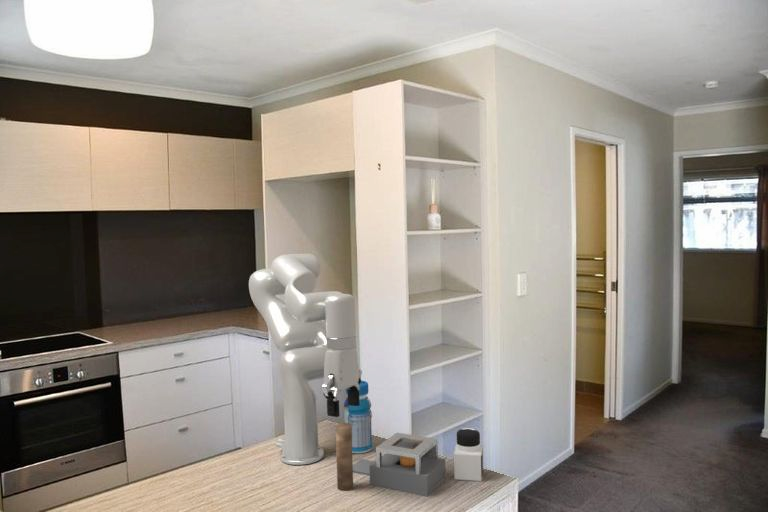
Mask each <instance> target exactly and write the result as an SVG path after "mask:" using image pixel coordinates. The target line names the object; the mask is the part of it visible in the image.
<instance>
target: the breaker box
mask: <svg viewBox="0 0 768 512" xmlns="http://www.w3.org/2000/svg"><path fill="white" fill-rule="evenodd" d="M374 461H375V462H374V463H372V464H371V465H370V475H369V485H370V486H375V487H379V488H385V489H390V490H394V491H398V492H399V491H400V492H404V493H407V494H413V495H417V496H422V497H423V496H424V497H429V495H431V494H432V493H433V492H434V490H436V488H437V487H438V486H439V485H441V484H442V482H443V481H444V480H445V479H446V477H447V476H446V473H447V472H446V458H443V457H438V458H437V459H434V458H428V457H421V474H420V475H417V474H416V466H414V467H413V468H411V467H406V466H401V465H400V456H399V455H394V454H388V453H383V455H382V466H381V467H376V460H374Z"/></svg>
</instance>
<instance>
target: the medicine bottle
mask: <svg viewBox="0 0 768 512" xmlns="http://www.w3.org/2000/svg"><path fill="white" fill-rule="evenodd" d="M480 440H481V434H480V432H479V431H478V430H476V429H475V428H470V427H468V428H467V427H465V428H460V429H458V430H457V432H456V444H455V448H454V452H453V474H454V480H456V481H458V480H459V481H471V482H473V481H474V482H482V481H483V475H484V474H483V473H484V458H483V457H484V453H483V452H484V449H483V448H484V447H483V445H482V444H481V441H480Z"/></svg>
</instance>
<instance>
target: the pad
mask: <svg viewBox="0 0 768 512" xmlns="http://www.w3.org/2000/svg"><path fill="white" fill-rule="evenodd" d="M375 461H376V460H369V459H364V458H361V459H359V460H357V462H355V463H353V473H357V474H361V475H366V476H370V465H371V464H372V463H374V462H375Z"/></svg>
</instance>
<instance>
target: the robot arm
mask: <svg viewBox="0 0 768 512" xmlns="http://www.w3.org/2000/svg"><path fill="white" fill-rule="evenodd" d="M321 270H322V269H321V261H320V260H319V259H318V257H317V256H316V255H314V254H312V253H287V254H286V253H285V254H282V255H279V256H277V257H275V259H273V261H272V262H271V265H270V268H269V267H268V268H261V269H258V270H256V271H253V273H251V275H250V276H249V280H248V290H249V295H250V298H251V301H252V302H253V305H254V306H255V309H257V311H258V312H259V313H260V315H261V316H262V318H263V319H264V321H265V324H266V327H267V329H268V331H269V334H270V336H271V339H272V342H273V343H274V346H275V347H276V349H277V350H279V352H282V355H281V356H280V358H279V361H278V367H279V368H278V369H279V373H280V378H281V383H282V393H283V396H282V397H283V416H284V421H283V423H284V438H283V437H278V438H277V440H276V442H275V447H276V448H281V449H282V451H281V452H280V454H279V460H280V461H281V462H283V463H284V464H287V465H292V466H293V465H294V466H298V465H299V466H300V465H301V466H303V465H309V464H314V463H316V462H318V461H320V460H322V459H323V458H324V456H325V452H324V449H323V448H322V447H320V446H319V421H318V397H317V396H318V395H317V393H316V391H315V390H314V388H313V387H312V386H311V385H310V383H309V382H310V381H311V382H312V381H315V380H318V379H319V380H320V379H323V383H322V385H321V390H322V392H323V396H324V398H325V401H326V408H327V409H326V412H327V416H328V417H334V418H338V417H340V400H338V399H339V395H340V392H342V391H346V389H347V388H349V389H350V390H349V389H348V396H347V397H348V405H352V406H359V405H360V403H359V390H360V382H361V381H362V379H361V378H362V373H363V371H362V370H361V369H359V358H358V352H357V349H358V348H357V345H358V344H357V326H356V325H357V324H356V323H357V322H356V321H357V318H356V300H355V297H354V295H353V294H349V293H343V292H341V291H336V290H335V291H334V290H333V291H329V290H328V291H318V292H314V291H315V289H316V286H317V280H318V279H319V277H320V276H321ZM281 295H284V300H282V299H280V297H278V296H281ZM323 322H325V325H324V323H323ZM333 392H334V393H333Z"/></svg>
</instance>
